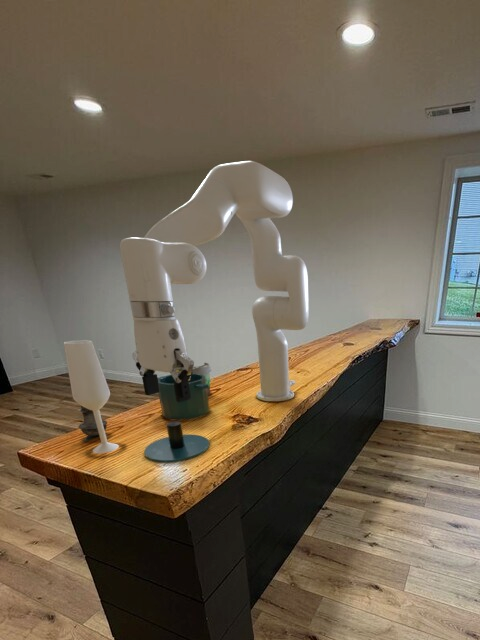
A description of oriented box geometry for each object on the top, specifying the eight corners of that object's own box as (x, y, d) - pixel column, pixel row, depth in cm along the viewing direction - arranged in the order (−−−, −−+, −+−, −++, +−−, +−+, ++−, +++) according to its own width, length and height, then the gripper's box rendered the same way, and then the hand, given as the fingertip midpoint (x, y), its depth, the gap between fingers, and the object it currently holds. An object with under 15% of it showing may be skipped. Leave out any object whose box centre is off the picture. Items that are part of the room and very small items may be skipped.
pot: (182, 403, 110) (177, 370, 106) (225, 412, 102) (221, 377, 98) (147, 414, 100) (140, 379, 96) (191, 426, 92) (185, 388, 88)
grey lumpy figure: (81, 444, 81) (66, 395, 76) (83, 435, 86) (70, 388, 81) (110, 440, 84) (97, 392, 79) (111, 431, 88) (99, 385, 84)
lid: (182, 434, 87) (177, 409, 84) (222, 445, 81) (219, 419, 78) (131, 455, 76) (125, 427, 73) (173, 470, 70) (168, 440, 67)
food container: (193, 402, 111) (188, 371, 107) (180, 399, 114) (175, 368, 110) (221, 392, 121) (218, 364, 117) (209, 390, 124) (205, 362, 120)
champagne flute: (122, 442, 83) (97, 338, 73) (124, 452, 77) (98, 342, 68) (88, 448, 79) (58, 340, 70) (89, 459, 74) (56, 345, 65)
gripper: (200, 312, 66) (210, 398, 73) (142, 309, 74) (156, 387, 80) (167, 314, 60) (181, 408, 67) (107, 310, 68) (125, 395, 74)
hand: (167, 396), depth 73 cm, fingers open, 9 cm apart
